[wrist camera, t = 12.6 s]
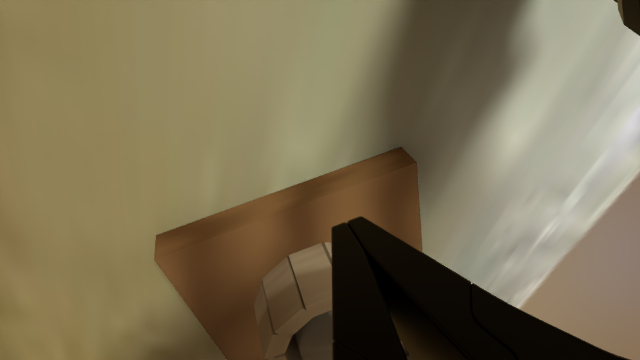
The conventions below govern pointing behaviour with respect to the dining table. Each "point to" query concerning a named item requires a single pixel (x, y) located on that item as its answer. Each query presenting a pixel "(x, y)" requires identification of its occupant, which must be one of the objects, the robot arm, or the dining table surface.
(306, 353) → the smooth gray stone
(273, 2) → the dining table surface
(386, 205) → the brown board with ring
